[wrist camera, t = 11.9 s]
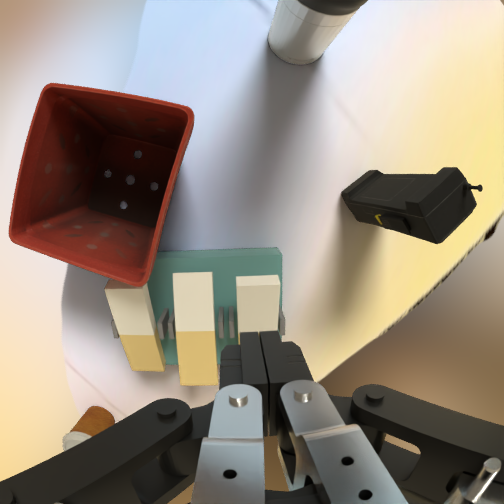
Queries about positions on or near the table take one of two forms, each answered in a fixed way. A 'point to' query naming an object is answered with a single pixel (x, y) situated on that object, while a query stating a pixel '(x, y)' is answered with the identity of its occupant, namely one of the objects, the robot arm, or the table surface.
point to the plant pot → (99, 179)
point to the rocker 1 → (136, 325)
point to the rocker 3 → (257, 303)
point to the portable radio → (413, 202)
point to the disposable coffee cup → (88, 426)
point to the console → (224, 285)
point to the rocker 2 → (195, 328)
